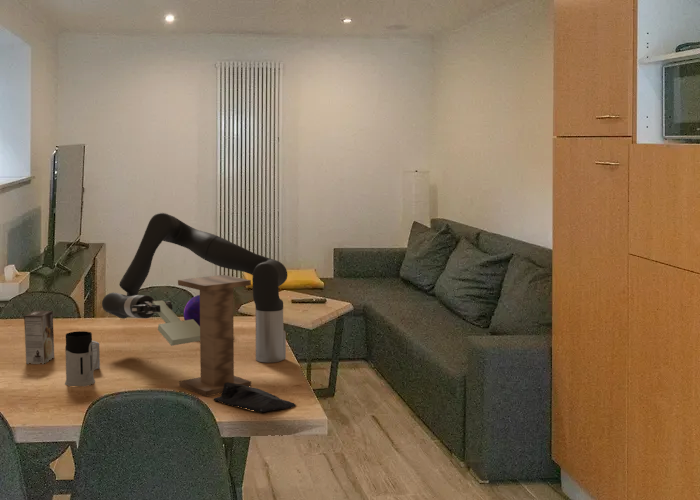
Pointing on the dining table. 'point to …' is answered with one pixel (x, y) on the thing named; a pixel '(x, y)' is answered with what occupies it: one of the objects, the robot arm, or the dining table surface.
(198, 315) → the decorative orb
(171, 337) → the paddle board
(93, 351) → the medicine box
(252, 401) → the black folded cloth
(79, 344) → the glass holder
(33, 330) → the coffee box
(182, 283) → the walnut stand
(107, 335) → the dining table surface
